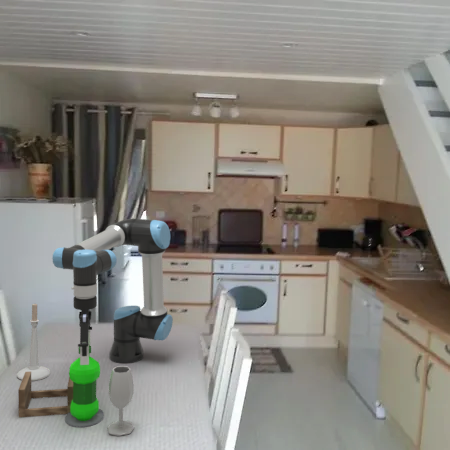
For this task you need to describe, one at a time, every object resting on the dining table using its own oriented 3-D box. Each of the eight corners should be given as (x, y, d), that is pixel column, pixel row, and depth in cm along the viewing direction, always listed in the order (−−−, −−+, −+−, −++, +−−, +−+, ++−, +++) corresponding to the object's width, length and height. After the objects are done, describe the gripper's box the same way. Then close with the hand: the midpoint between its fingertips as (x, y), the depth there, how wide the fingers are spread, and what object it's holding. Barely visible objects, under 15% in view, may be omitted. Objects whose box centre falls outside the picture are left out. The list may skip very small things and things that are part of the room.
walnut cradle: (76, 394, 189) (76, 369, 188) (73, 413, 175) (73, 386, 174) (25, 397, 185) (25, 371, 184) (18, 417, 171) (18, 389, 169)
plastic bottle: (74, 409, 177) (74, 341, 174) (103, 410, 176) (104, 342, 173) (64, 423, 167) (64, 352, 164) (95, 425, 166) (96, 353, 163)
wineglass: (109, 423, 169) (109, 363, 167) (135, 422, 170) (136, 363, 168) (105, 436, 161) (105, 374, 158) (132, 436, 161) (133, 374, 159)
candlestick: (20, 368, 210) (21, 299, 207) (52, 367, 212) (53, 299, 209) (14, 381, 197) (14, 307, 194) (47, 380, 200) (49, 307, 197)
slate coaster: (104, 407, 180) (104, 405, 180) (103, 425, 167) (103, 423, 167) (66, 409, 177) (66, 408, 177) (63, 428, 164) (63, 427, 164)
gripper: (75, 286, 178) (76, 343, 181) (70, 307, 154) (71, 372, 157) (97, 286, 180) (97, 342, 183) (95, 306, 156) (95, 370, 159)
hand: (85, 356), depth 170 cm, fingers open, 13 cm apart
